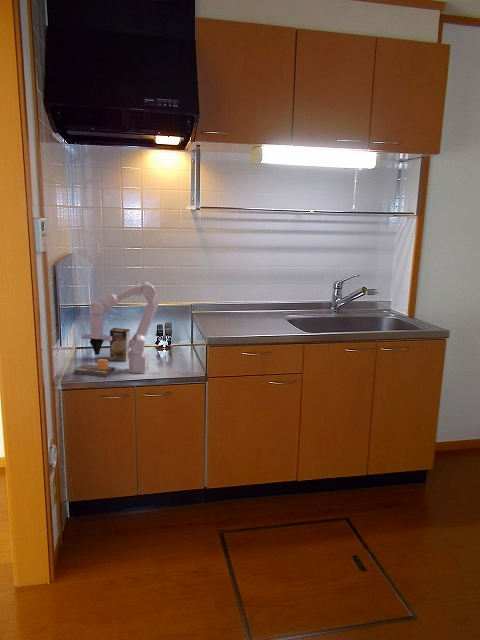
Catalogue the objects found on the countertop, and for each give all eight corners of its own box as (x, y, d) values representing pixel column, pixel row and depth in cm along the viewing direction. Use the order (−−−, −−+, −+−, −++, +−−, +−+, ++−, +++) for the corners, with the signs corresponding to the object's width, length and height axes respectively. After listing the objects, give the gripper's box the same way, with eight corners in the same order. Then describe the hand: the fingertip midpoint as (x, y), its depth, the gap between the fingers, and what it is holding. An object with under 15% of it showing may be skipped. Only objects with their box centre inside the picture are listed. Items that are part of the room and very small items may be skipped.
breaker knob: (108, 368, 243) (108, 359, 242) (105, 370, 240) (105, 361, 239) (100, 367, 244) (100, 358, 243) (97, 369, 241) (97, 360, 240)
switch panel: (113, 371, 246) (113, 367, 245) (106, 376, 238) (106, 372, 237) (82, 368, 248) (82, 364, 248) (74, 373, 240) (74, 369, 240)
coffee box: (109, 360, 263) (108, 330, 259) (113, 356, 269) (113, 327, 266) (126, 361, 262) (126, 331, 259) (130, 358, 268) (130, 328, 265)
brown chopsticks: (115, 369, 249) (115, 367, 249) (113, 370, 247) (113, 368, 247) (85, 366, 252) (85, 364, 251) (83, 367, 249) (83, 365, 249)
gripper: (114, 325, 241) (114, 353, 244) (85, 323, 243) (86, 350, 246) (108, 329, 234) (109, 357, 237) (79, 326, 236) (79, 354, 239)
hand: (97, 354), depth 241 cm, fingers closed
